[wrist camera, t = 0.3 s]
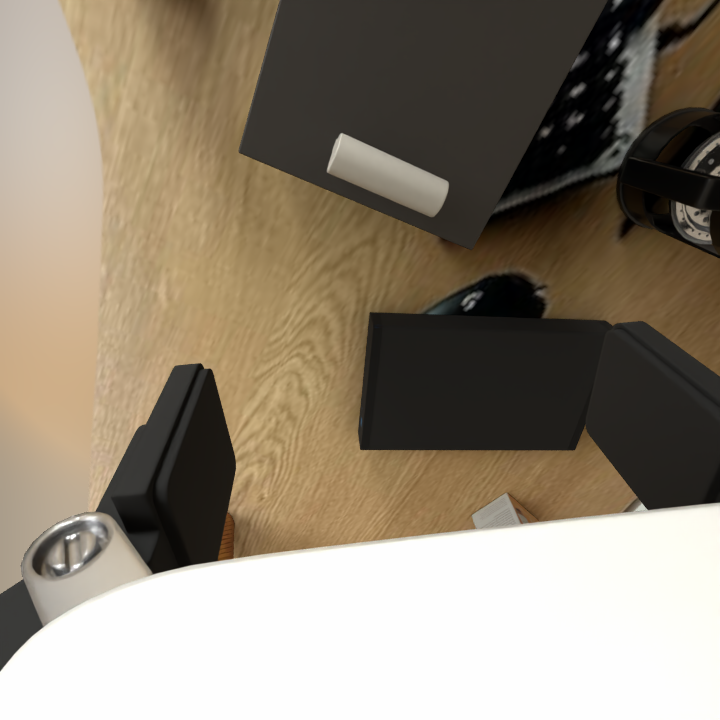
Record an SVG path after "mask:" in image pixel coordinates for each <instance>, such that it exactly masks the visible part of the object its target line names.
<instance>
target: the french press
mask: <svg viewBox="0 0 720 720" xmlns="http://www.w3.org/2000/svg"><path fill="white" fill-rule="evenodd" d="M689 126H697V127H701V128H703V129H704V130H706V131H708V132H709V134H710V135H711V136H710V137H709V138H707V139H706V140H705V141H704V142H703V143H701V144H700V145H699V146H698V147H697V148H696V149H695V150H694V151H693V152H692V153H691V154H690V155H689V156H688V157H687V159H686V160H685V161H684V162H683V164H682V165H681V167H677V166H673V165H669V164H665V163H661V162H657V161H656V159H657V158H658V156H659V155H660V153H661V152H662V150H663V149H664V148H665V147H666V146H667V145H668V143H669V142H670V141H671V140H672V139H673V138H674V137H676V136H677V135H678V134H679V133H680V132H682V131H683V130H684V129H686V128H688V127H689ZM616 189H617V199H618V202H619V205H620V208H621V210H622V211H623V213H624V214H625V216H626V217H627V218H628V219H629V220H631V221H632V222H633V223H635V224H637V225H639V226H641V227H644V228H649V229H655V230H657V231H659V232H662V233H664V234H666V235H668V236H671V237H673V238H675V239H677V240H679V241H682V242H684V243H686V244H688V245H691V246H693V247H695V248H697V249H700V250H702V251H704V252H706V253H709V254H711V255H713V256H715V257H717V258H720V113H718V112H714V111H713V110H709V109H705V108H684V109H680V110H676V111H674V112H671V113H669V114H667V115H664V116H663V117H661V118H660V119H658V120H656V121H655V122H653V123H652V124H651V125H650V126H649V127H647V128H646V129H645V130H644V131H643V132H642V133H641V134H640V135H639V136H638V138H637V139H636V140H635V141H634V142H633V144H632V145H631V147H630V148H629V150H628V152H627V153H626V155H625V157H624V160H623V162H622V164H621V167H620V170H619V174H618V178H617V188H616ZM645 191H646V192H649V193H652V194H655V195H658V196H661V197H664V198H666V199H669V213H667V214H655V213H651V212H649V211H647V210H646V207H645V197H644V195H645ZM711 244H713V245H711Z"/></svg>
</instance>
